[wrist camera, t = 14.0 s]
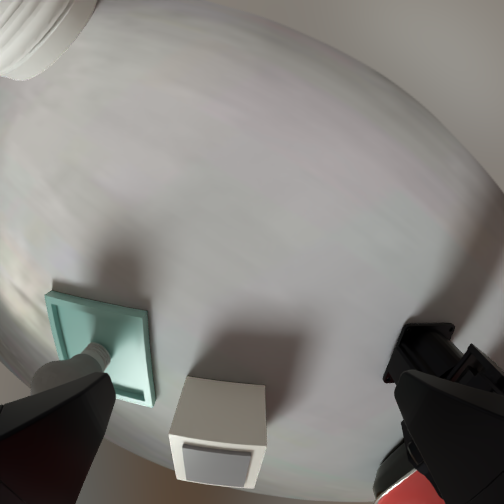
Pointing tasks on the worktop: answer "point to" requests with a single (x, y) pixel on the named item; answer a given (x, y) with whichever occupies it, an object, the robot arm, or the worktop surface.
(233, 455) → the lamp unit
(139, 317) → the tray
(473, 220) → the worktop surface
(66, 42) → the honey pot
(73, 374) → the light bulb
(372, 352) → the worktop surface
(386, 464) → the toaster
